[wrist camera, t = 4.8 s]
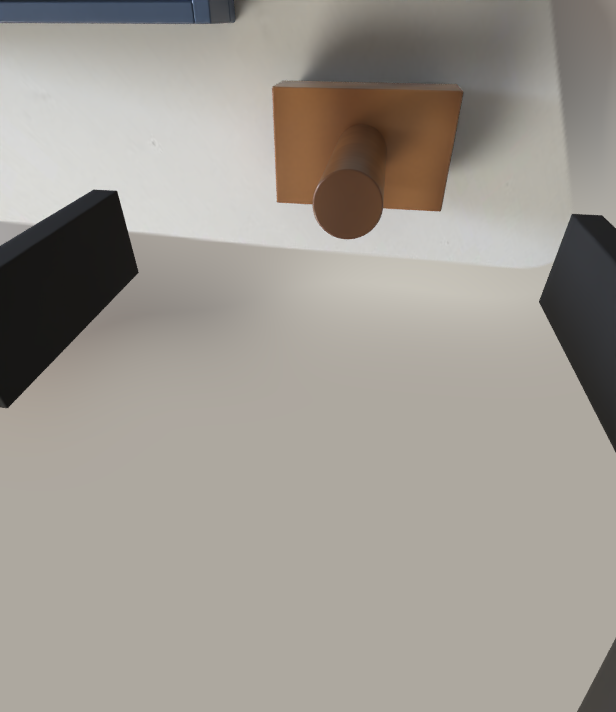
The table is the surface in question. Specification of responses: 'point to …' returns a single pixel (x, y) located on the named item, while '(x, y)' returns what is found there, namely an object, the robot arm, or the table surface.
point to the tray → (118, 11)
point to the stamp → (363, 148)
